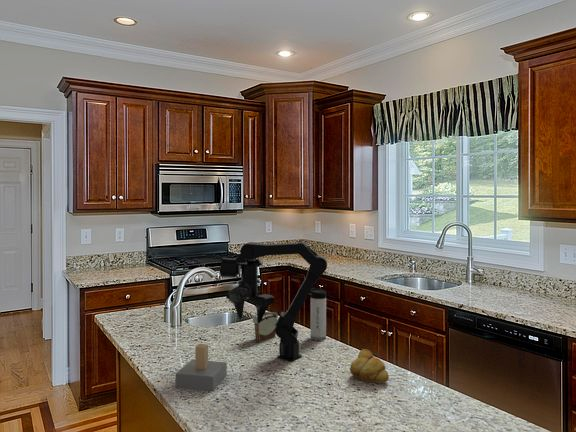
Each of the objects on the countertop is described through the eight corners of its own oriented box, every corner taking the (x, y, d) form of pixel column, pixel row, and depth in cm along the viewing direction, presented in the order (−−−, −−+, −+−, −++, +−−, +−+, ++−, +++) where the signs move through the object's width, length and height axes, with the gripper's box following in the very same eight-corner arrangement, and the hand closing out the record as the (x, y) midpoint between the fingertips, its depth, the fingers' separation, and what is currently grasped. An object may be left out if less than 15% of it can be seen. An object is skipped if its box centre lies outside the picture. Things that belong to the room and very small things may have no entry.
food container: (266, 333, 197) (266, 310, 196) (277, 336, 193) (277, 312, 192) (246, 340, 187) (245, 316, 186) (257, 344, 183) (257, 318, 183)
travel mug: (317, 334, 196) (317, 286, 194) (329, 337, 191) (329, 289, 190) (306, 337, 191) (306, 289, 190) (318, 341, 186) (319, 291, 185)
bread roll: (395, 382, 147) (395, 357, 146) (373, 389, 141) (373, 363, 141) (365, 369, 157) (365, 346, 157) (344, 376, 151) (344, 351, 151)
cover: (226, 375, 151) (226, 341, 151) (213, 391, 140) (213, 353, 139) (191, 372, 154) (191, 338, 153) (175, 387, 142) (175, 350, 142)
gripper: (214, 277, 168) (215, 320, 168) (253, 284, 156) (253, 330, 157) (236, 273, 176) (237, 314, 177) (274, 279, 165) (274, 323, 165)
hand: (249, 320), depth 169 cm, fingers open, 9 cm apart
